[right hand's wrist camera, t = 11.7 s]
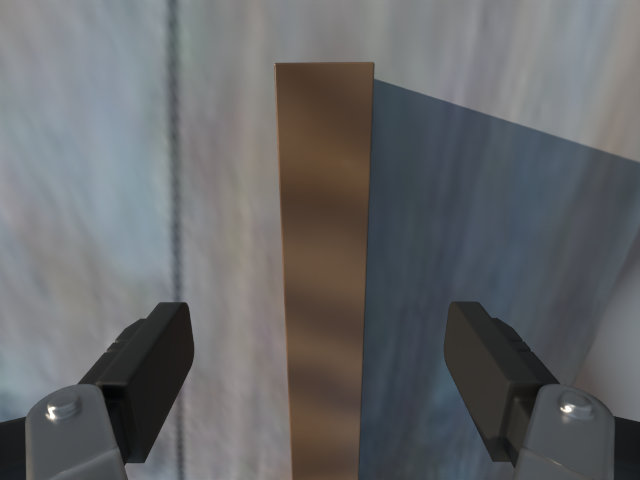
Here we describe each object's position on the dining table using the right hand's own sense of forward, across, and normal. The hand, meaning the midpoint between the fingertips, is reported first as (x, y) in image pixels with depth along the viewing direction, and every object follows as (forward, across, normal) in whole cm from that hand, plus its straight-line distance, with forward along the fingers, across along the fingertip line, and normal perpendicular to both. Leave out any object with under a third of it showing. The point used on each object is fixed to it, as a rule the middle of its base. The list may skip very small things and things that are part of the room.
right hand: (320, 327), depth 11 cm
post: (+15, 0, -28) cm, 31 cm away
